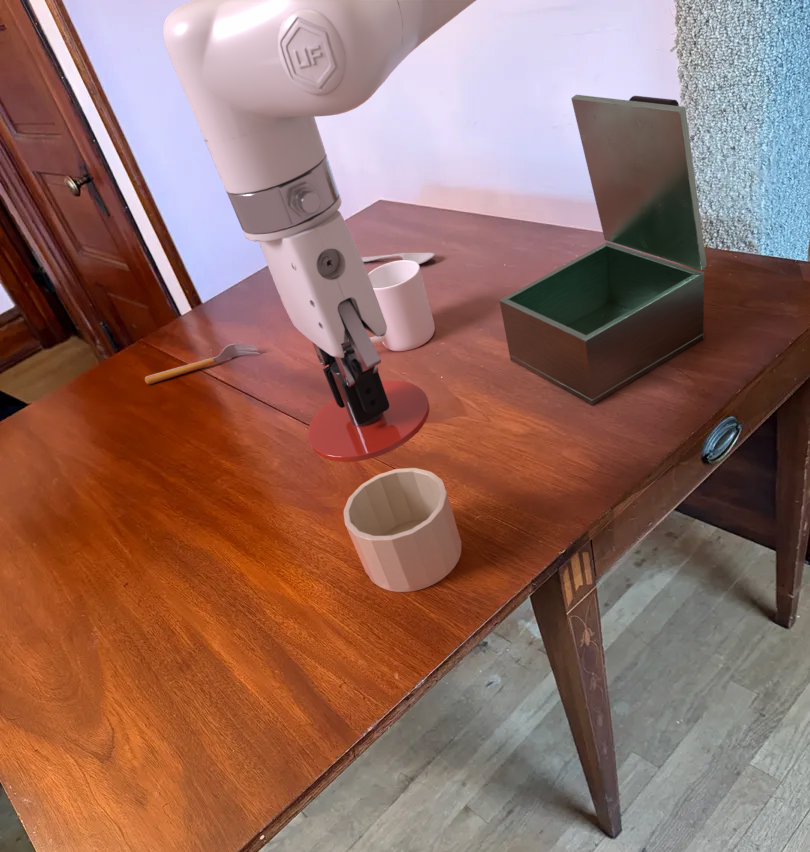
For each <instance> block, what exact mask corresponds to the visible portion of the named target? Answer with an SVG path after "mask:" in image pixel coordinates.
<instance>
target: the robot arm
mask: <svg viewBox="0 0 810 852" xmlns="http://www.w3.org/2000/svg"><path fill="white" fill-rule="evenodd" d="M476 1H477V0H190V1H187V2H185V3H183V4H181V5H179V6H178V7H177V8H175V9H173V10H172V11H170V13H169V14H168V15H167V17H166V18H165V20H164V22H163V27H162V36H163V42H164V47H165V48H166V51H167V53H168V54H167V55H168V57H169V59H170V62H171V65H172V66H173V69H174V71H175V73H176V76H177V79H178V81H179V83H180V85H181V88H182V90H183V93H184V95H185V97H186V99H187V102H188V104H189V107H190V109H191V111H192V114H193V116H194V119H195V121H196V123H197V126H198V128H199V131H200V133H201V135H202V138H203V140H204V142H205V144H206V147H207V150H208V152H209V154H210V156H211V158H212V161H213V163H214V165H215V168H216V170H217V173H218V175H219V177H220V181H221V182H222V185H223V187H224V190H225V192H226V194H227V196H228V199H229V202H230V204H231V206H232V209H233V211H234V213H235V215H236V218H237V220H238V222H239V225H240V227H241V229H242V232H243V234H244V237H245V238H246V240H248V241H251V242H259V246H260V249H261V250H262V253H263V256H264V259H265V262H266V264H267V267H268V270H269V272H270V275H271V277H272V280H273V282H274V283H273V284H274V285H275V288H276V290H277V292H278V295H279V297H280V300H281V302H282V305H283V307H284V309H285V311H286V313H287V315H288V317H289V319H290V321H291V323H292V324H293V326H294V327H295V328H296V329H297V331H298V332H300V334H302V335H303V336H304V337H305V338H307V339H308V340H309V341H311V342H312V345H313V348H314V351H315V353H316V356H317V358H318V361H319V363H320V364H321V366H322V367H324V368H322V371H323V373H324V376H325V379H326V380H327V383H328V386H329V388H330V391H331V394H332V396H333V399H334V398H335V401H336V403H337V405H338V406H339V407H341V408H344V407H345V405H344V403H343V400H342V398H341V395H340V392H339V390H338V387H337V385H336V382H335V380H334V377H333V375H332V372H331V365H332V364H333V363H334V362H335V361H336V362H337V364H338V367H339V369H340V372H341V374H342V376H343V379H344V381H345V383H343V384H342V387H343V390H344V392H345V395H346V397H347V400H348V402H349V405H350V408H351V410H352V413H353V415H354V418H355V420H356V421H357V422H358V423H359V424H363V423H365V422H367V421H369V420H370V419H372V418H374V417H376V416H377V415H379V414H381V413H383V412H384V411H386V410H388V408H389V402H388V399H387V396H386V393H385V390H384V388H383V385H382V382H381V381H382V379H381V376H380V373H379V367H378V365H379V364H381V362H382V361H381V357H380V355H379V353H378V352H377V348H375V345H373V344H372V342H371V340H370V338H369V337H370V335H369V334H368V332H369V333H371V334H373V336H375V335H376V336H377V337H379V336H381V337H382V336H384V335H385V334H386V332H387V326H386V322H385V319H384V316H383V314H382V311H381V308H380V305H379V303H378V300H377V297H376V295H375V292H374V289H373V286H372V284H371V281H370V279H369V276H368V273H369V272H368V270H367V269H366V266H365V262H363V261H362V258H361V257H362V255H361V253H360V251H359V249H358V246H357V244H356V242H355V239H354V238H353V235H352V233H351V231H350V229H349V226H348V225H347V223H346V220H345V219H344V217H343V215H342V213H341V212H340V211H339V209H340V207H341V205H342V197H341V195H340V192H339V189H338V186H337V185H338V184H337V183H336V179H335V176H334V173H333V170H332V167H331V164H330V161H329V158H328V154H327V153H326V149H325V146H324V143H323V140H322V136H321V133H320V129H319V127H318V124H317V121H316V118H315V117H327V116H328V117H329V116H335V115H341V114H344V113H348V112H350V111H353V110H355V109H356V108H358V107H360V106H362V105H363V104H365V103H366V102H367V101H368V100H370V99H371V98H372V97H373V95H374V94H375V93H376V92H377V91H378V90H379V88H380V87H381V86H382V85H383V84H384V83H385V82H386V80H387V79H388V78H389V76H390V75H391V74H392V73H393V72H394V71H395V70H396V68H397V67H399V65H400V64H402V62H403V61H404V60H405V59H406V58H407V57H408V56H409V55H410V54H411V53H412V52H413V51H415V50H416V49H417V48H418V47H419V46H421V45H422V44H423V43H424V42H425V41H426V40H428V39H429V38H430V37H431V36H432V35H434V34H435V33H436V32H438V31H439V30H440V29H441V28H443V27H444V26H446V24H448V23H449V22H450V21H452V20H453V19H454V18H456V17H457V16H459V14H461V13H462V12H464V11H465V10H466V9H467V8H468V7H469V6H471V5H472V4H474V3H475V2H476ZM367 331H368V332H367ZM350 354H356V358H355V359H353V360H351V361H350V365H348V362H347V360H346V357H347V356H348V355H350Z"/></svg>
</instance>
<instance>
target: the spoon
mask: <svg viewBox="0 0 810 852" xmlns="http://www.w3.org/2000/svg"><path fill="white" fill-rule="evenodd" d="M394 257H400V258H401V259H402V260H411V261H415V262H417V263H418V264H419V265H421V264H424V263H426V262H428V261H429V260H431V259H432V258H433V257H435V252H398V253H393V254H392V253H391V254H382V255H371V256H361V258H362V261H363V263H368V262H372V261H377V260H381V259H388V258H394Z"/></svg>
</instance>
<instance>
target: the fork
mask: <svg viewBox="0 0 810 852" xmlns="http://www.w3.org/2000/svg"><path fill="white" fill-rule="evenodd" d="M256 347H257V346H256V345H255V344H245V343H230V344H228V345H226V346H225V347H224V348H223V349H222V351H221V352H220V353H219V355H217V356H214V357H210V358H206V359H203V360H199V361H196V362H192V363H189V364H186V365H181V366H178V367H173V368H171V369H167V370H164V371H160V372H156V373H153V374H149V375H147V376H145V377H144V381H145V383H146V384H147V385H154V384H156V383H159V382H162V381H166V380H169V379H171V378H174V377H178V376H181V375H183V374H186V373H189V372H193V371H197V370H199V369H202V368H206V367H209V366H210V365H214V364H217V363H221V362H223V361H225V360H227V359H232V358H236V357H240V356H246V355H261V353H260V352H258V351H259V349H258V348H256Z"/></svg>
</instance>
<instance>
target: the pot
mask: <svg viewBox="0 0 810 852" xmlns="http://www.w3.org/2000/svg"><path fill="white" fill-rule="evenodd" d="M342 512H343V519H344V525H345V528H346V530H347V532H348V535H349V537H350V539H351V542H352V544H353V546H354V549H355V551H356V553H357V555H358V557H359V558H358V559H359V560H360V562H361V566H362V567H363V569H364V571H365V574H366V575H367V576H368V578H369V580H371V582H373V584H374V585H376V586H377V587H379V588H381V589H382V590H385V591H390V592H395V593H409V592H410V593H411V592H416V591H421V590H424V589H426V588H429V587H432V586H433V585H436V584H437V583H439V582H440V581H441V580H443V579H444V578H446V577H447V576H448V575H449V574H451V572H452V571H453V570H454V568H456V565H457V564H458V562H459V560H460V558H461V555H462V549H463V548H462V540H461V536H460V533H459V530H458V526H457V523H456V519H455V516H454V512H453V509H452V505H451V503H450V498H449V494H448V492H447V489H446V485H445V483H444V480H443V479H442V478H441V477H439V476H438V475H436V473H434V472H433V471H429V470H427V469H422V468H419V467H407V468H395V469H392V470H389V471H386V472H382V473H380V474H379V473H378V474H376V475H375V476H373V477H371V478H370V479H368V480H367V481H365V482H363V483H362V484H360V485H359V486H358V487H357V488H356V490H354V491H353V493H351V495H350V496H349V497H348V499H347V501H346V504H345V506H344V509H343V511H342Z"/></svg>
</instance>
